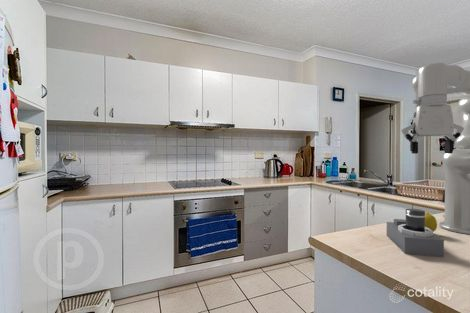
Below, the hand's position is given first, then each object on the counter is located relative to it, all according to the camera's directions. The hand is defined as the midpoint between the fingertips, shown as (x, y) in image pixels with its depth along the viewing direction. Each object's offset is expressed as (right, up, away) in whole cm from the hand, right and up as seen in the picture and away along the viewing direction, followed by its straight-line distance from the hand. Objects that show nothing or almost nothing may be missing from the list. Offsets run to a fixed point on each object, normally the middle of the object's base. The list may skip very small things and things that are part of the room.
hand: (431, 153), depth 81 cm
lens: (-8, -26, -3) cm, 27 cm away
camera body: (-7, -30, -1) cm, 31 cm away
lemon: (+6, -30, +9) cm, 32 cm away
